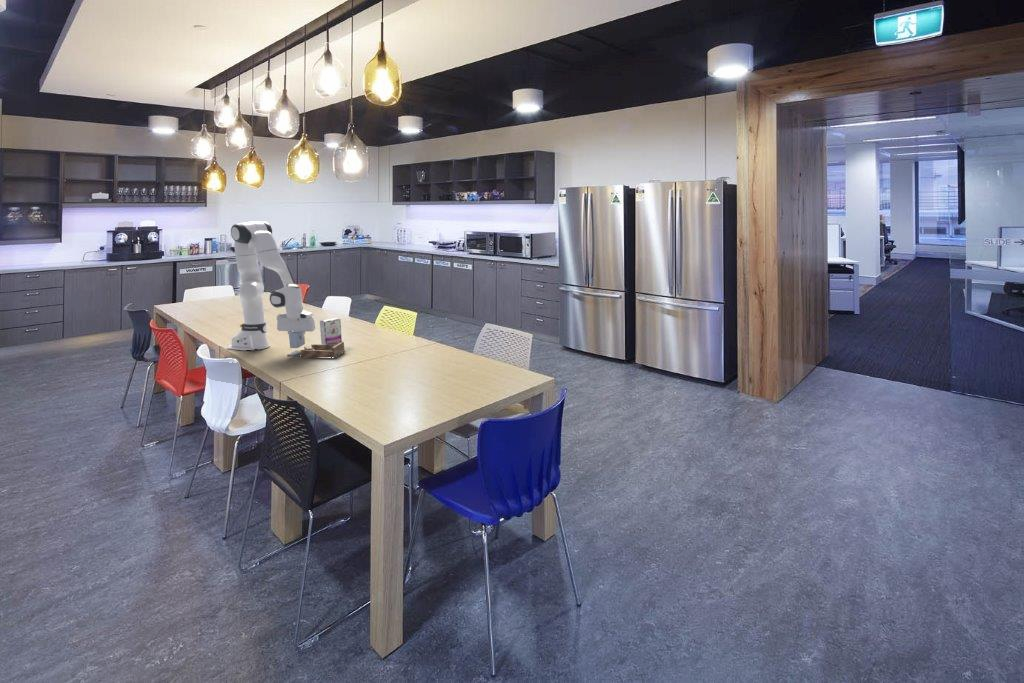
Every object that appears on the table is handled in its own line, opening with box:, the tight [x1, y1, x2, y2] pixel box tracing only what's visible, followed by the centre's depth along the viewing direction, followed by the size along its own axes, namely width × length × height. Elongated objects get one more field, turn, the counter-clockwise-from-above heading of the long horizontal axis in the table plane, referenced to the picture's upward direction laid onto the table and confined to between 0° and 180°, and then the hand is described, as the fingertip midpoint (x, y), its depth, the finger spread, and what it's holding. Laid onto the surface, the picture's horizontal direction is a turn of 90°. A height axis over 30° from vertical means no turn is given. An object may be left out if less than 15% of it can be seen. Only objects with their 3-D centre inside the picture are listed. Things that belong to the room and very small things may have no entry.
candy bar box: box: [319, 317, 343, 345], centre depth 337 cm, size 11×5×16 cm, turn 143°
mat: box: [287, 349, 301, 357], centre depth 322 cm, size 7×11×1 cm, turn 176°
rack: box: [300, 341, 345, 359], centre depth 320 cm, size 18×15×6 cm
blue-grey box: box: [288, 331, 306, 349], centre depth 320 cm, size 4×10×8 cm, turn 176°
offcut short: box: [303, 345, 313, 350], centre depth 320 cm, size 3×6×2 cm, turn 35°
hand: (297, 339), depth 320 cm, fingers closed on blue-grey box, 4 cm apart
